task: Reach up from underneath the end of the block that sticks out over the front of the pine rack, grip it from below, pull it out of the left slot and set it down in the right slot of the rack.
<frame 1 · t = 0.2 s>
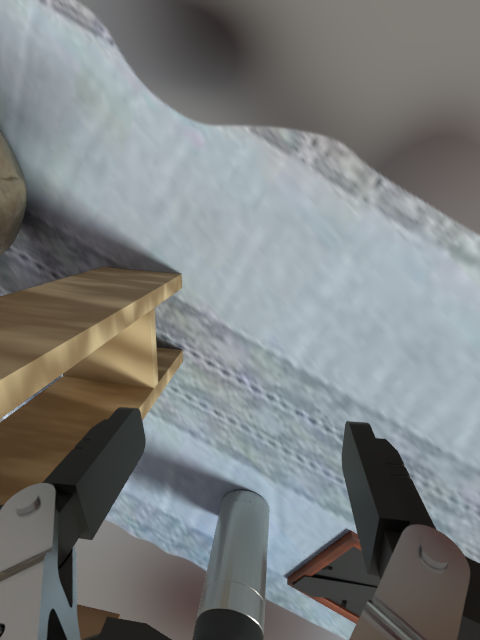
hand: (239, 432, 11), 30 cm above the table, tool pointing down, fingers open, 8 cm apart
picture frame: (366, 580, 58), on the table
rack: (144, 316, 43), on the table
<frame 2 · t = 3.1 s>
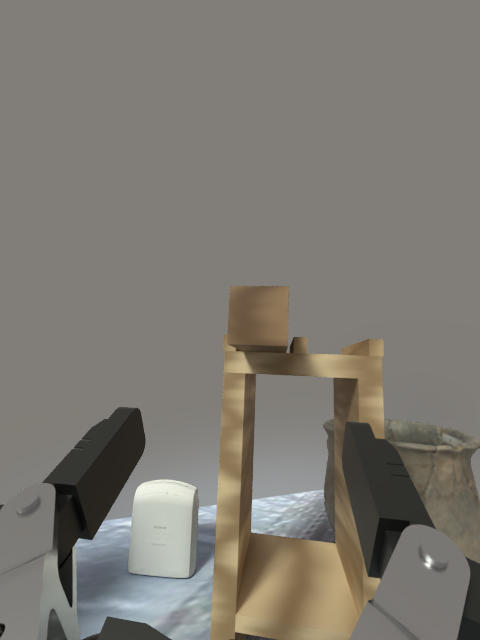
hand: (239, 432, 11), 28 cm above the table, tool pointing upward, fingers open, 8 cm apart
block: (266, 354, 30), point 32 cm above the table, touching rack
pot: (399, 566, 46), on the table
photo printer: (161, 570, 43), on the table
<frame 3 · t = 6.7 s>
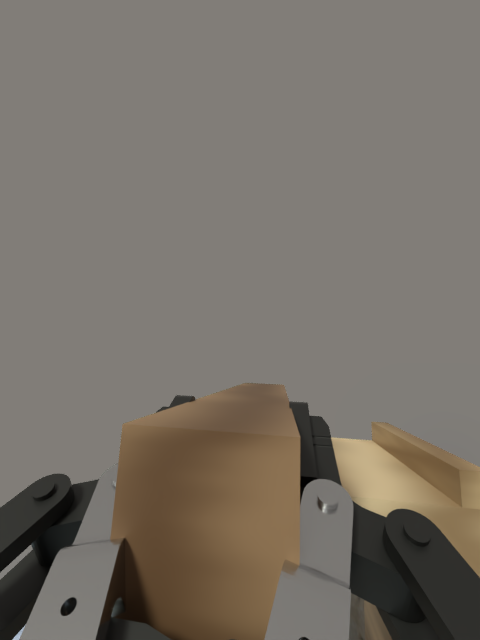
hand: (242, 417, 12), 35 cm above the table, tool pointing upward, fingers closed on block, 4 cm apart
block: (252, 459, 17), point 32 cm above the table, touching gripper, rack
when the fingers open (36 cm above the table, at t = 12.2 s): block drops 1 cm, resting on rack.
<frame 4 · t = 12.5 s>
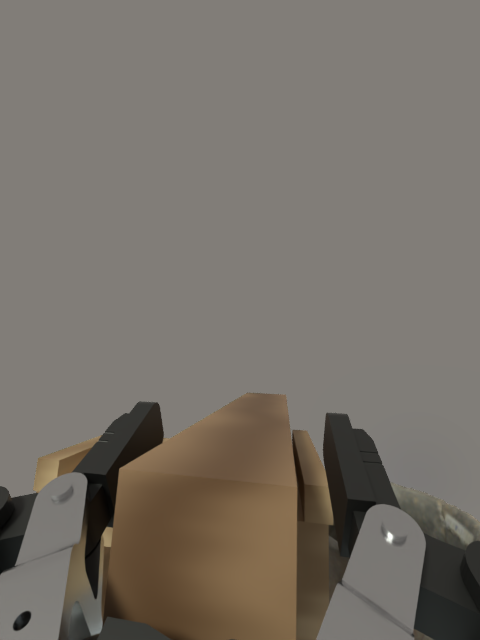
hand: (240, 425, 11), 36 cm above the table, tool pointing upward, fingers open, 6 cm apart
block: (253, 476, 17), point 32 cm above the table, touching rack
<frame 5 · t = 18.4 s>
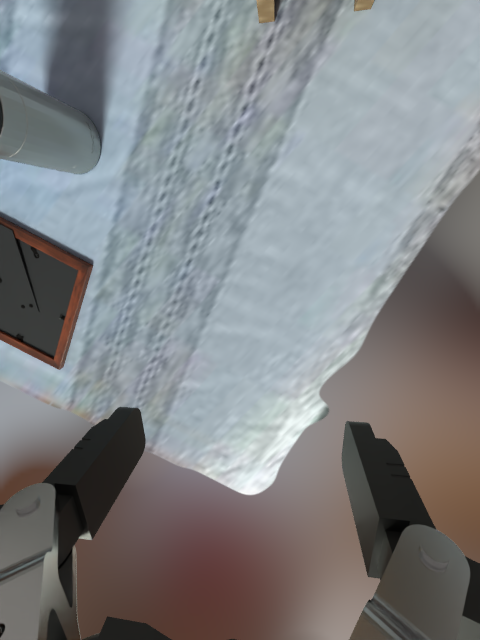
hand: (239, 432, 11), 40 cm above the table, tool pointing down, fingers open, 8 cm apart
picture frame: (35, 296, 58), on the table
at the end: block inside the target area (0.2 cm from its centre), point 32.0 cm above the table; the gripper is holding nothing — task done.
